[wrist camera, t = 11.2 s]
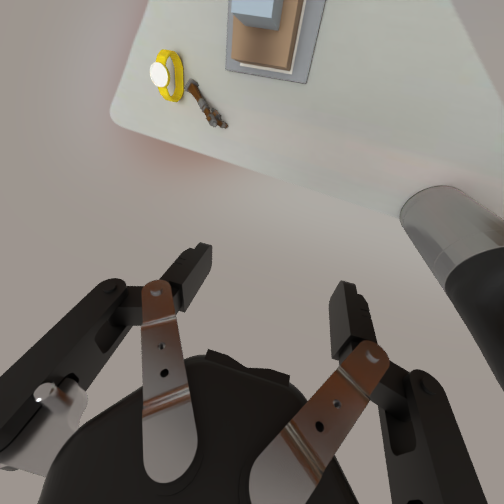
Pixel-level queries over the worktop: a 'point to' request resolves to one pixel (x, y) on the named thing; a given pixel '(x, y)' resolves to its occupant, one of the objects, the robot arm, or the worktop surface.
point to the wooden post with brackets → (204, 105)
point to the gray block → (258, 13)
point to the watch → (167, 75)
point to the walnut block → (268, 40)
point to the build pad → (302, 51)
